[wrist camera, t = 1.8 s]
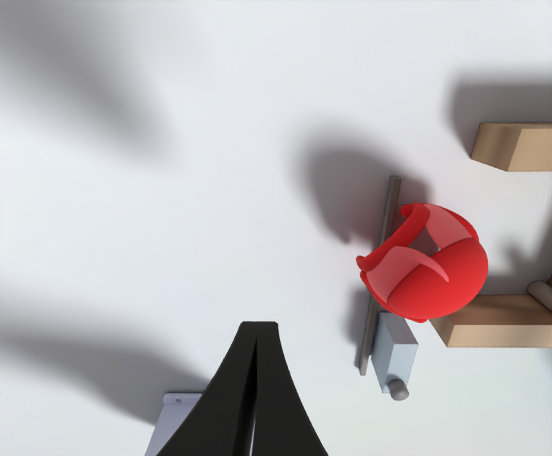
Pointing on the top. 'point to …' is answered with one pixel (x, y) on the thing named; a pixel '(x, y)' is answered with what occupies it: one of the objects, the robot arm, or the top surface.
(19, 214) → the top surface
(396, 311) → the cap
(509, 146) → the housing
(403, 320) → the pale blue-grey box
